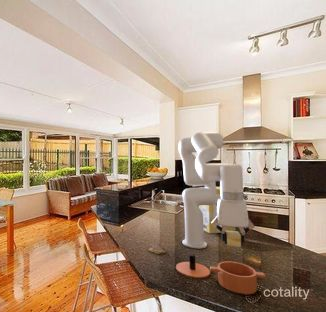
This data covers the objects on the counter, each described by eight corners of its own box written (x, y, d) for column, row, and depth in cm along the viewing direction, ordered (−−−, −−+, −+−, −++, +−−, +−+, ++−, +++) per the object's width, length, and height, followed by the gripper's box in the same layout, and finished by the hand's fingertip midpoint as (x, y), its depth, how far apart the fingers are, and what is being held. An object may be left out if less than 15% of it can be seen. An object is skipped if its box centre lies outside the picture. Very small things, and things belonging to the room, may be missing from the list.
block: (225, 241, 92) (224, 230, 92) (238, 242, 90) (237, 231, 90) (227, 245, 88) (227, 233, 88) (241, 247, 86) (240, 234, 86)
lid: (176, 262, 109) (175, 247, 109) (207, 266, 104) (207, 250, 104) (176, 276, 96) (175, 259, 96) (212, 281, 91) (211, 263, 91)
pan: (208, 274, 97) (208, 258, 97) (259, 281, 91) (258, 264, 91) (213, 290, 85) (212, 272, 85) (271, 299, 79) (270, 280, 79)
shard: (158, 245, 129) (158, 242, 129) (171, 249, 123) (171, 246, 123) (147, 251, 121) (147, 248, 121) (161, 256, 116) (161, 252, 116)
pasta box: (209, 233, 148) (208, 189, 148) (199, 228, 158) (198, 187, 159) (235, 231, 150) (234, 188, 151) (224, 226, 161) (223, 186, 161)
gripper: (254, 195, 90) (255, 242, 90) (206, 194, 96) (207, 238, 95) (261, 198, 83) (262, 250, 83) (208, 197, 89) (209, 244, 88)
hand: (232, 243), depth 89 cm, fingers closed on block, 4 cm apart
